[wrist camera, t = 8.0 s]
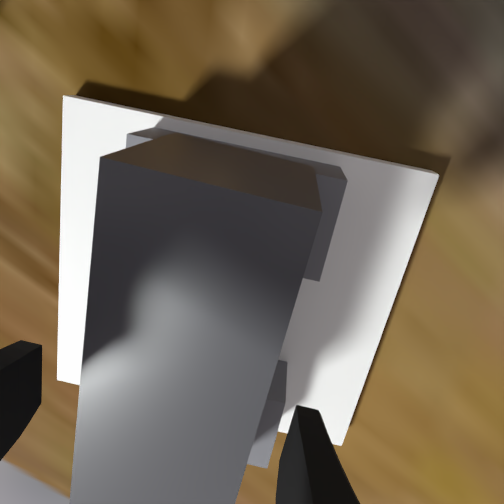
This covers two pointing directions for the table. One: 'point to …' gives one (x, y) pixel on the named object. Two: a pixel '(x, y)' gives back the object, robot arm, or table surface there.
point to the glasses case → (186, 316)
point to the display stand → (316, 273)
